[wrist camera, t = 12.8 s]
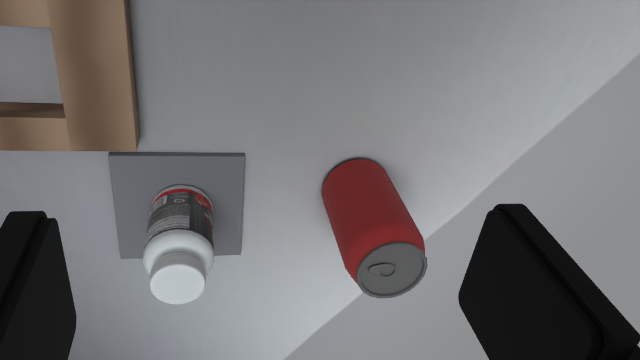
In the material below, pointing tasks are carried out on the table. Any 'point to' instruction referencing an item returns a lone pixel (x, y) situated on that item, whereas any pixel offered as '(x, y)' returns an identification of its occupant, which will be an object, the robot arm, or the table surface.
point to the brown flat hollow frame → (78, 79)
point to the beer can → (373, 229)
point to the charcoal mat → (170, 170)
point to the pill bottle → (179, 244)
